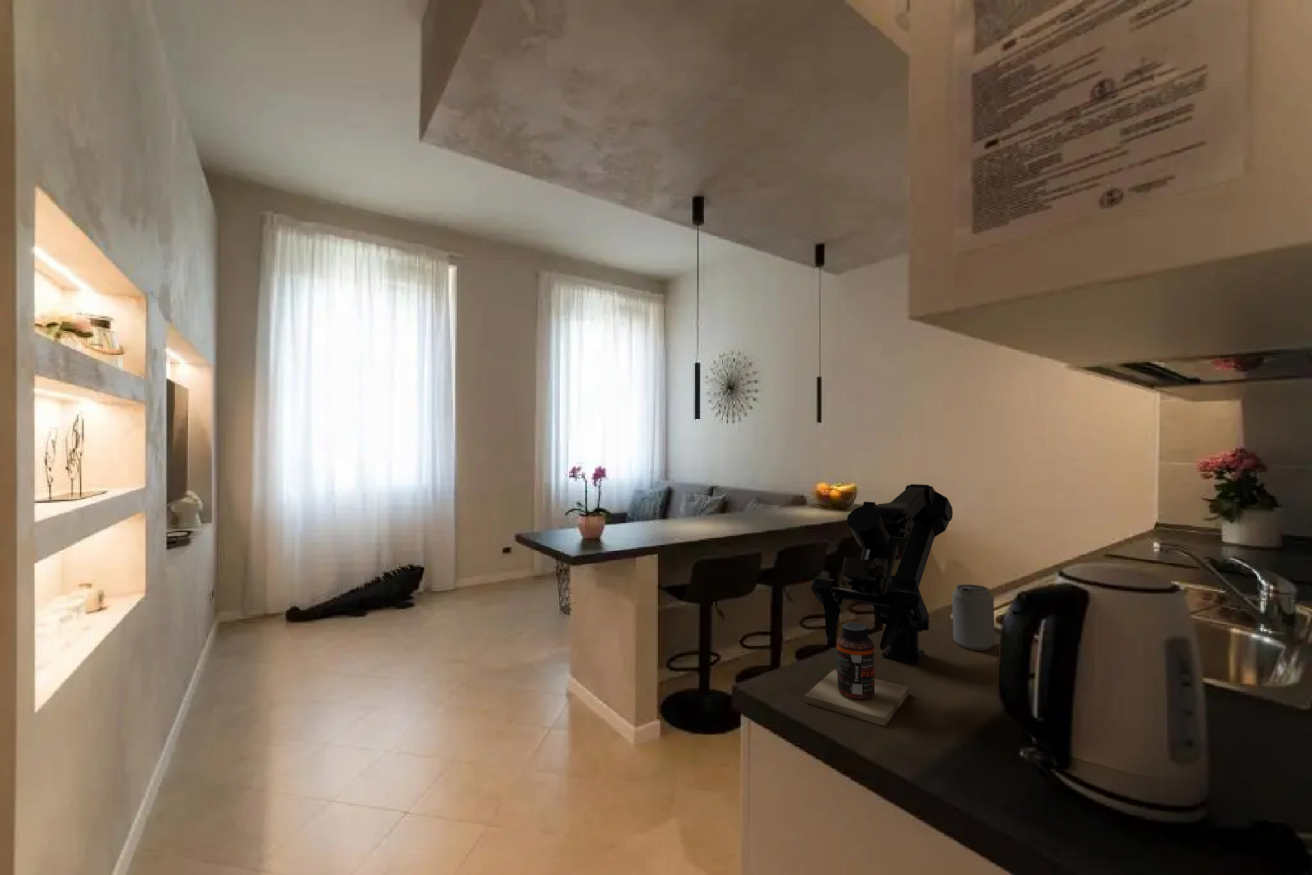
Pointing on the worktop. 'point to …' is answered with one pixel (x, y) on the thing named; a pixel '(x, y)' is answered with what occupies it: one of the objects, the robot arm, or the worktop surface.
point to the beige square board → (868, 709)
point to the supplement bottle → (855, 662)
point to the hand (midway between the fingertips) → (853, 642)
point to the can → (973, 617)
